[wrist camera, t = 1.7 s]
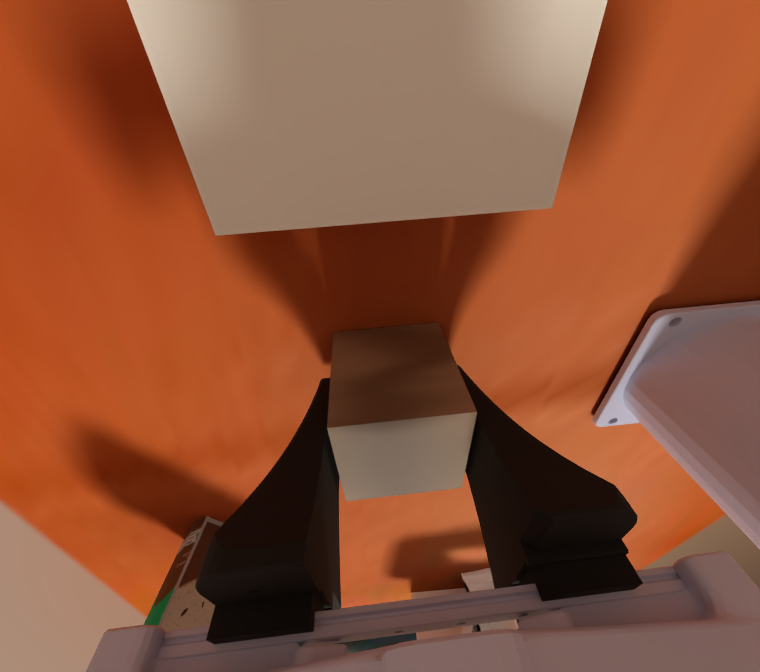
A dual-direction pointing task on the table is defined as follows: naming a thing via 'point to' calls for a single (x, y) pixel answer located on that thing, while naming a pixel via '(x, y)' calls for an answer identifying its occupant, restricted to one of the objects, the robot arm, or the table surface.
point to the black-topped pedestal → (473, 583)
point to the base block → (370, 104)
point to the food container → (185, 583)
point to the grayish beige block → (398, 412)
